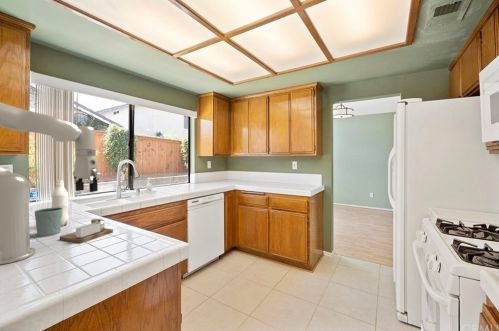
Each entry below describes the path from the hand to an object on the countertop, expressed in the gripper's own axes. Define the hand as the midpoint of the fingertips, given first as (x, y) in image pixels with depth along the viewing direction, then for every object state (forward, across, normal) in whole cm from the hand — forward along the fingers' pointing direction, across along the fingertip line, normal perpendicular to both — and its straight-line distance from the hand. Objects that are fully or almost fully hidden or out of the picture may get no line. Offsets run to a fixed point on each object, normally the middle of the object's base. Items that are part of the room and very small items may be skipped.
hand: (86, 191), depth 103 cm
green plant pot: (+22, +24, +3) cm, 33 cm away
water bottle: (+22, +35, -8) cm, 42 cm away
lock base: (+22, +4, -2) cm, 22 cm away
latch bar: (+20, 0, -2) cm, 20 cm away
